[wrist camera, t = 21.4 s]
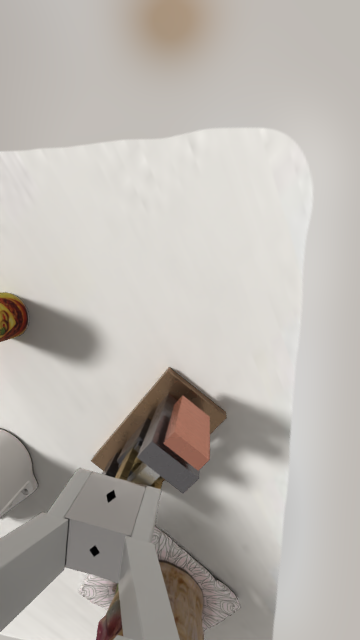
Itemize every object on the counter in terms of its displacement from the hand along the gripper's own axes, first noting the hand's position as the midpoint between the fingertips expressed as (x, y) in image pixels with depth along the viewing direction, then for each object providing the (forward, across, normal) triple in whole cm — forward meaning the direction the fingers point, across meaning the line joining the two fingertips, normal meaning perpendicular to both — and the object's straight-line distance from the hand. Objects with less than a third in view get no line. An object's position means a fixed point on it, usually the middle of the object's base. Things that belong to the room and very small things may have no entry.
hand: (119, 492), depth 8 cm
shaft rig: (+29, +3, +21) cm, 36 cm away
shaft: (+24, +1, +19) cm, 31 cm away
